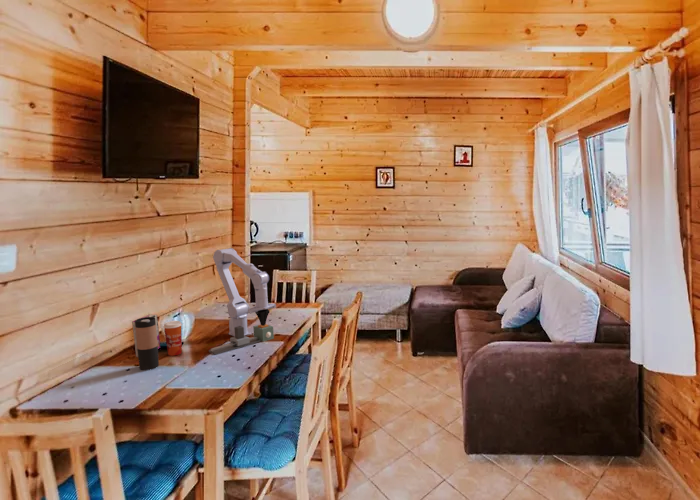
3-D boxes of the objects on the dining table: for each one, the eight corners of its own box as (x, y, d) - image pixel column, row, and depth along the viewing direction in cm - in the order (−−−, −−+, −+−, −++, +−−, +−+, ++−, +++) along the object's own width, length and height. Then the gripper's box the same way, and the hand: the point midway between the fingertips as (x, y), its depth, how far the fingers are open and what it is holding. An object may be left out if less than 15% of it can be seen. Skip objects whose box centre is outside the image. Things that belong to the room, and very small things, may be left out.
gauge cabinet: (254, 338, 210) (253, 326, 210) (264, 335, 215) (263, 323, 214) (263, 341, 205) (262, 329, 204) (274, 338, 209) (273, 326, 208)
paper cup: (166, 357, 187) (163, 326, 186) (164, 352, 194) (162, 322, 193) (185, 354, 191) (183, 323, 189) (183, 349, 198) (181, 319, 196)
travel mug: (143, 364, 181) (139, 317, 178) (162, 362, 181) (158, 316, 179) (135, 371, 173) (131, 322, 171) (155, 369, 174) (151, 321, 171)
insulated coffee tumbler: (151, 348, 200) (148, 314, 198) (161, 349, 199) (158, 314, 197) (134, 357, 189) (131, 321, 187) (144, 357, 188) (141, 321, 186)
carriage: (230, 342, 201) (229, 327, 200) (241, 339, 205) (240, 324, 204) (238, 346, 196) (237, 330, 195) (249, 342, 200) (248, 327, 199)
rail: (208, 351, 193) (208, 347, 193) (253, 339, 209) (253, 335, 209) (215, 354, 189) (214, 350, 189) (260, 341, 205) (260, 337, 205)
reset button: (258, 332, 209) (257, 325, 209) (264, 330, 212) (264, 323, 212) (262, 333, 207) (262, 326, 206) (268, 331, 209) (268, 324, 209)
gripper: (252, 301, 200) (254, 330, 201) (278, 295, 210) (280, 323, 211) (244, 299, 205) (246, 327, 206) (270, 294, 215) (272, 320, 216)
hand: (263, 325), depth 209 cm, fingers closed, pressing on reset button
